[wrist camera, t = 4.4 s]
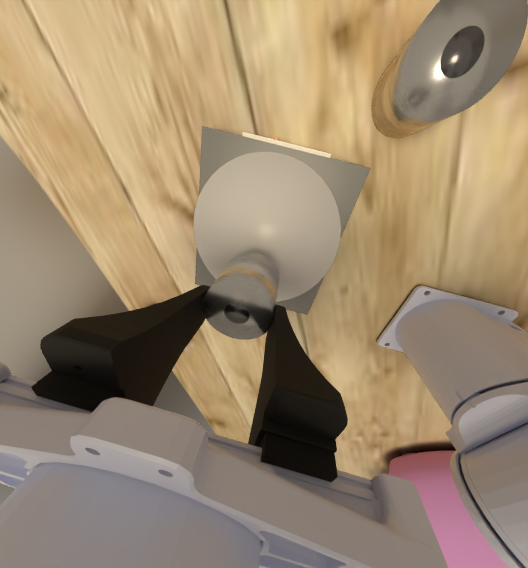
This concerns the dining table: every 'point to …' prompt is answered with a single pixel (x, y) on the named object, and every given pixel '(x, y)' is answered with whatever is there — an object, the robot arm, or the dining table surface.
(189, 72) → the dining table surface
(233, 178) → the kitchen scale
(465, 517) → the teapot
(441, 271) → the dining table surface
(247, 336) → the cylinder
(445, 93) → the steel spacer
